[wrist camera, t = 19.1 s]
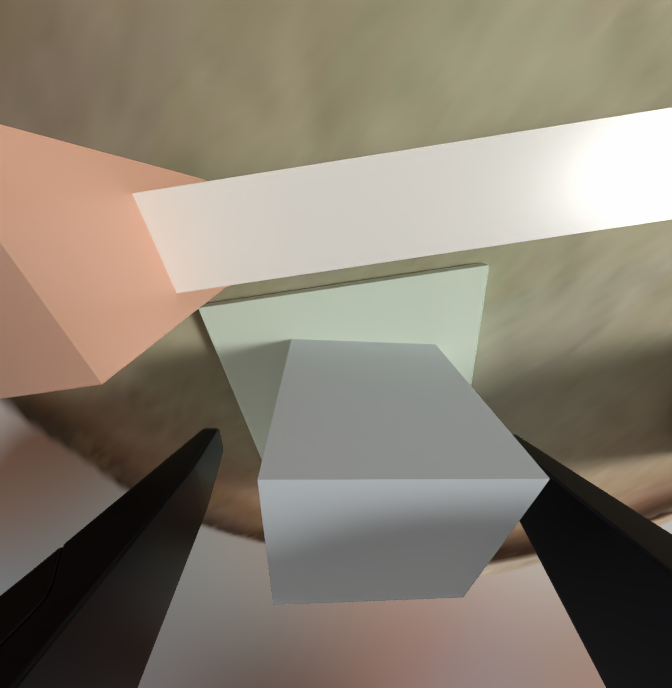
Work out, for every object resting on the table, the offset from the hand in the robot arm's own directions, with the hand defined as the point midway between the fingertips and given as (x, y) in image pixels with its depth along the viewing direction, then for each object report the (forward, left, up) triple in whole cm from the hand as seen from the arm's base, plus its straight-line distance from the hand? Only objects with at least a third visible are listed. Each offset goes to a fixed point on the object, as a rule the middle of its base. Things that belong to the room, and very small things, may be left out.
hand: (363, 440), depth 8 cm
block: (0, 0, -2) cm, 2 cm away
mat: (0, 0, -2) cm, 2 cm away
